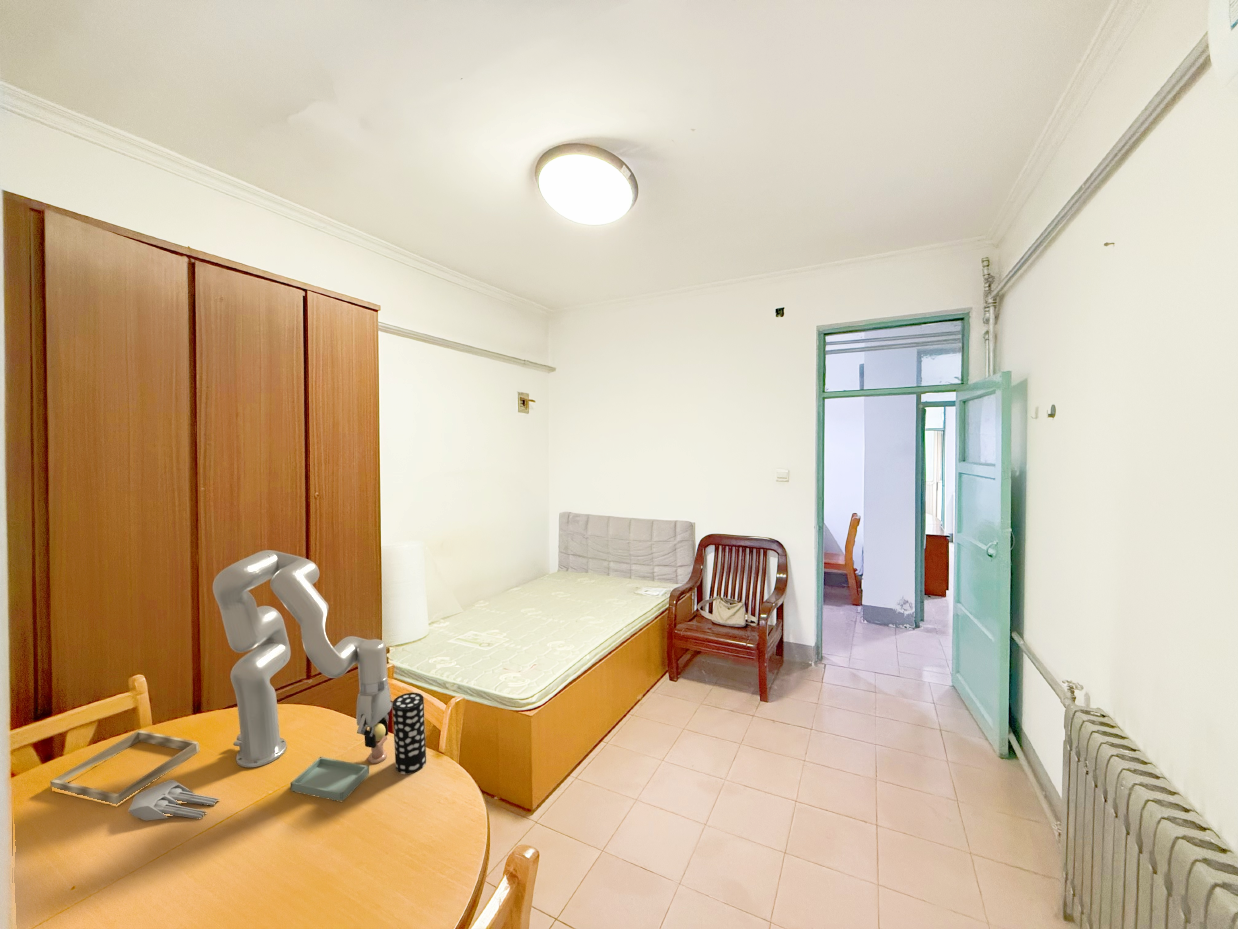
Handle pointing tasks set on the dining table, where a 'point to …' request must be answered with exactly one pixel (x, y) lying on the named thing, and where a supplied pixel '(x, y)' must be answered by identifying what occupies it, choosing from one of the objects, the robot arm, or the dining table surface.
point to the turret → (167, 802)
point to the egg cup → (378, 752)
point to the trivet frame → (143, 736)
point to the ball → (379, 731)
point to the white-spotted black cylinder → (409, 733)
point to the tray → (330, 778)
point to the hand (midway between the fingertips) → (376, 740)
